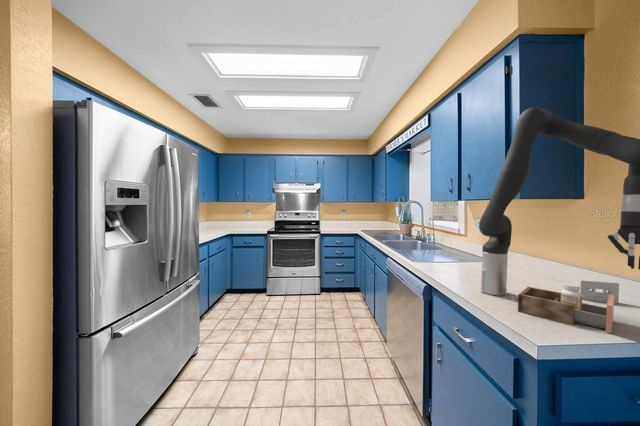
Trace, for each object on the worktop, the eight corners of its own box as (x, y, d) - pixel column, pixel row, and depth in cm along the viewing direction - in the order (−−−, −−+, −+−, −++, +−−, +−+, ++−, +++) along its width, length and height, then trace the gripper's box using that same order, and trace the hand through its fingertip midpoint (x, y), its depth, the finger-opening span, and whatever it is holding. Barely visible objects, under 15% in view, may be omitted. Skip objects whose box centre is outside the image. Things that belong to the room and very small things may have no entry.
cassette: (580, 300, 114) (581, 280, 114) (578, 298, 116) (579, 279, 116) (619, 303, 110) (620, 283, 110) (616, 302, 112) (617, 282, 112)
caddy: (578, 313, 100) (578, 296, 100) (572, 324, 91) (573, 305, 91) (527, 302, 111) (527, 286, 111) (517, 311, 102) (518, 294, 101)
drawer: (613, 319, 94) (614, 295, 94) (611, 333, 84) (612, 306, 84) (556, 307, 105) (557, 285, 104) (549, 318, 95) (550, 294, 95)
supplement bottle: (571, 310, 99) (572, 282, 99) (586, 316, 94) (587, 287, 94) (555, 310, 99) (557, 282, 99) (570, 316, 94) (571, 287, 93)
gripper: (606, 209, 87) (603, 266, 88) (677, 211, 77) (673, 275, 78) (607, 209, 92) (605, 263, 93) (674, 210, 82) (670, 271, 83)
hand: (636, 268), depth 85 cm, fingers closed
